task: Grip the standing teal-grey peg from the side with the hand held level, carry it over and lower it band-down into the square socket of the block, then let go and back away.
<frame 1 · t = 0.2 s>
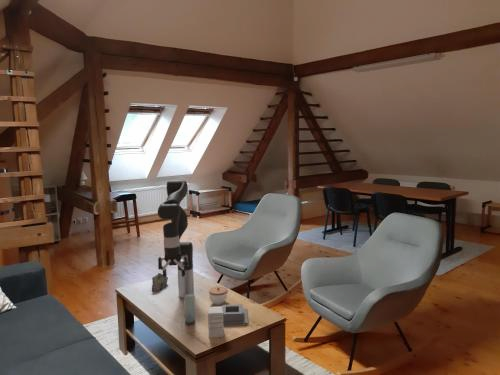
hand: (174, 276, 194), 29 cm above the table, tool pointing down, fingers open, 8 cm apart
peg: (190, 323, 207), on the table
lidded jar: (218, 302, 231), on the table
mineral rock: (160, 287, 255), on the table
socket block: (232, 318, 211), on the table
supplement box: (216, 334, 195), on the table
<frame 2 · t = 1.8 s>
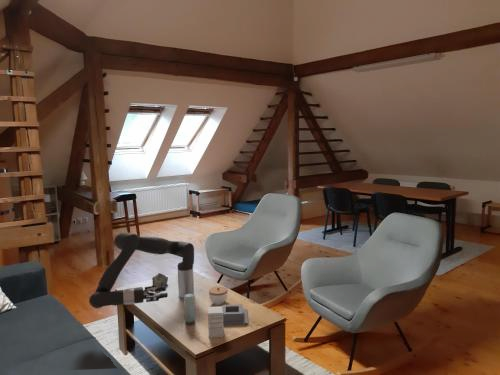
hand: (166, 291, 201), 19 cm above the table, tool horizontal, fingers open, 8 cm apart
nothing on the table moved.
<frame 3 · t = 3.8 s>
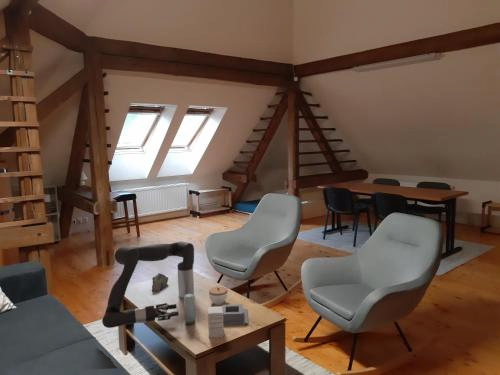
hand: (177, 309, 204), 8 cm above the table, tool horizontal, fingers open, 8 cm apart
nothing on the table moved.
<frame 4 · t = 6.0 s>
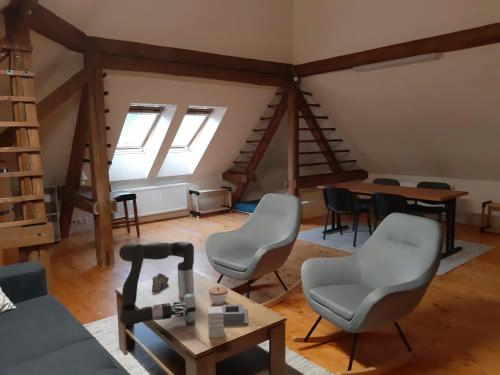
hand: (194, 306, 206), 9 cm above the table, tool horizontal, fingers closed on peg, 5 cm apart
peg: (190, 323, 207), on the table, touching gripper
everything else where it was.
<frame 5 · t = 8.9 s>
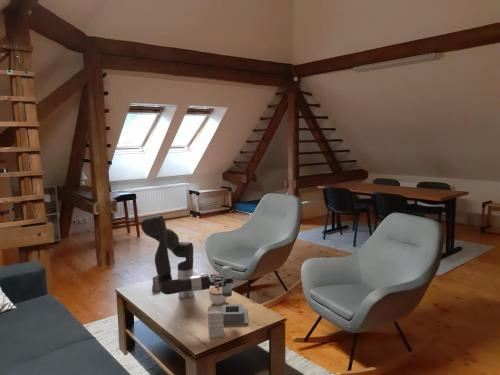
hand: (231, 278, 208), 22 cm above the table, tool horizontal, fingers closed on peg, 5 cm apart
peg: (227, 294, 209), point 13 cm above the table, touching gripper
everything else where it was.
when the fingers open (11 cm above the table, at t = 12.3 s): peg drops 1 cm, resting on socket block.
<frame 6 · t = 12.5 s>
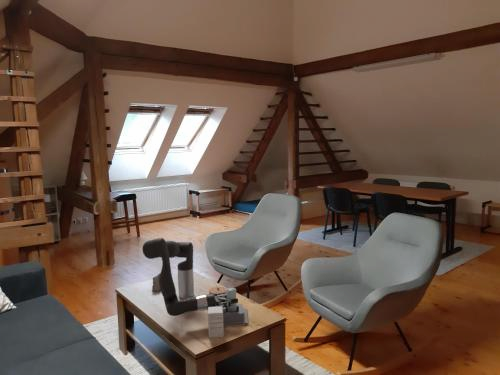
hand: (236, 297, 211), 11 cm above the table, tool horizontal, fingers open, 6 cm apart
peg: (232, 316, 211), point 1 cm above the table, touching socket block
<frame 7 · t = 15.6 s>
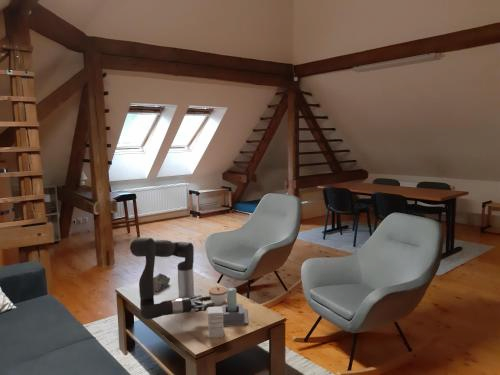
hand: (212, 301, 207), 11 cm above the table, tool horizontal, fingers open, 8 cm apart
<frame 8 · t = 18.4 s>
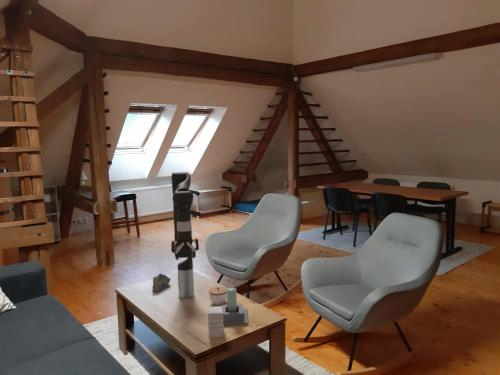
hand: (185, 258, 210), 32 cm above the table, tool pointing down, fingers open, 8 cm apart
at the end: peg 0.1 cm off-centre on the socket block, point 1.0 cm above the socket block's base; peg tilted 0°; the gripper is holding nothing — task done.
